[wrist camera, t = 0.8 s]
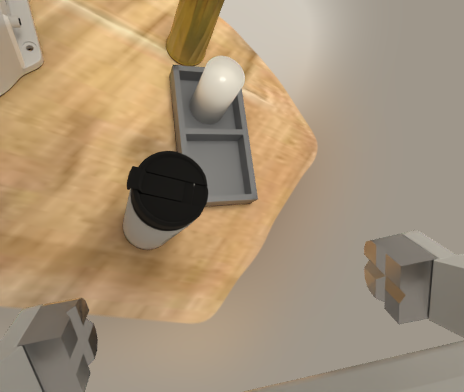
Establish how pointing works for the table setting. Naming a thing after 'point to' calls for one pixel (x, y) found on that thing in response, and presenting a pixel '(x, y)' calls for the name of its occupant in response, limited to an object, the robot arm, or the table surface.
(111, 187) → the table surface
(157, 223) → the travel mug
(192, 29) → the vase
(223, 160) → the caddy
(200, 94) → the white cylinder
